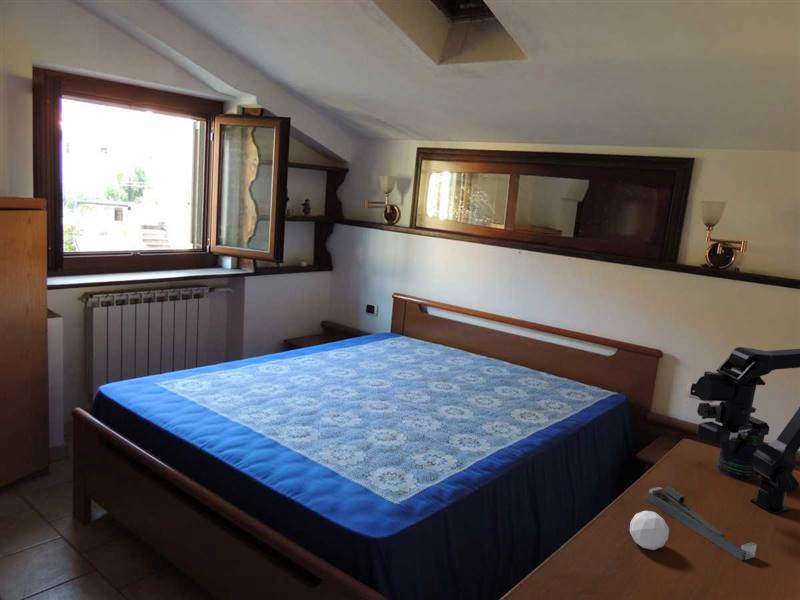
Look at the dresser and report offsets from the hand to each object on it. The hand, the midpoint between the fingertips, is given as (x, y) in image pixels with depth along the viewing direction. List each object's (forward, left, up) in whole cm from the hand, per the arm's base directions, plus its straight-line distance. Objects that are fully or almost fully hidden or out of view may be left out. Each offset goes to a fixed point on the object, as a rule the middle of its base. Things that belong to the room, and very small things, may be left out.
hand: (727, 461), depth 153 cm
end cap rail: (+14, +5, -12) cm, 19 cm away
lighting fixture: (+12, +2, -12) cm, 17 cm away
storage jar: (-23, -12, -12) cm, 29 cm away
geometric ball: (+32, +7, -12) cm, 35 cm away
